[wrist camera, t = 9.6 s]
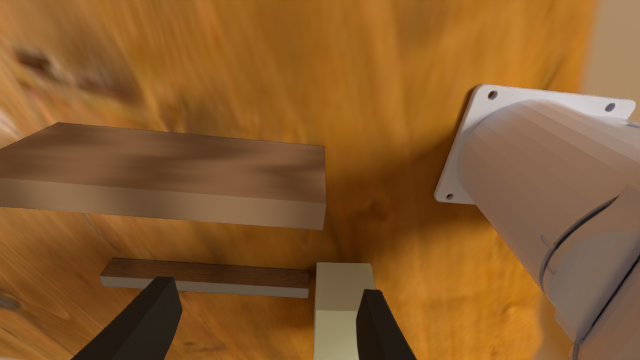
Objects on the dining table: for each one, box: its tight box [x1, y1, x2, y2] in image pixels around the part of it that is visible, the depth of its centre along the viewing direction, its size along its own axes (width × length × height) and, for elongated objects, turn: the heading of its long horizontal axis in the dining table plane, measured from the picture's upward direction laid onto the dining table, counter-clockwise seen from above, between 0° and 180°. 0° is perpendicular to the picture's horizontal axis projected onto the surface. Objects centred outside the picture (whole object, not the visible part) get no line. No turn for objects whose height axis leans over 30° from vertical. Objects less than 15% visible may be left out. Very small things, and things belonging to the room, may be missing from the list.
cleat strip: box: [99, 258, 309, 298], centre depth 23 cm, size 16×1×2 cm, turn 84°
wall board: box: [0, 122, 327, 230], centre depth 15 cm, size 16×2×6 cm, turn 84°
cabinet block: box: [313, 262, 376, 360], centre depth 24 cm, size 4×8×4 cm, turn 178°
